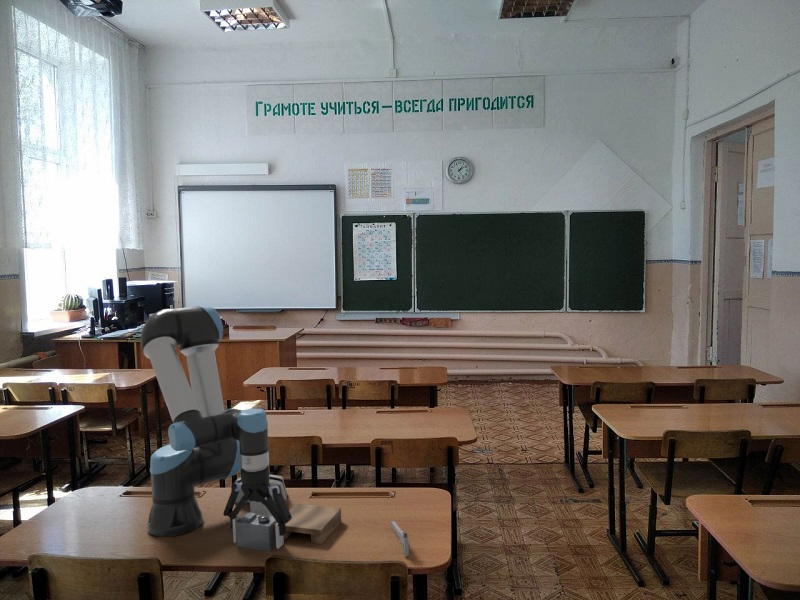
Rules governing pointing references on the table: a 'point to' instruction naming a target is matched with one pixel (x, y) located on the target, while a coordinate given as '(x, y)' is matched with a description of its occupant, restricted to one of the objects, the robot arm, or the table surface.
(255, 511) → the pale grey pebble
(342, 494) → the table surface
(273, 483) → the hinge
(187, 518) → the robot arm
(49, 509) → the table surface
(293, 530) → the stand
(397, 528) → the caliper
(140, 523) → the table surface
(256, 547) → the housing
